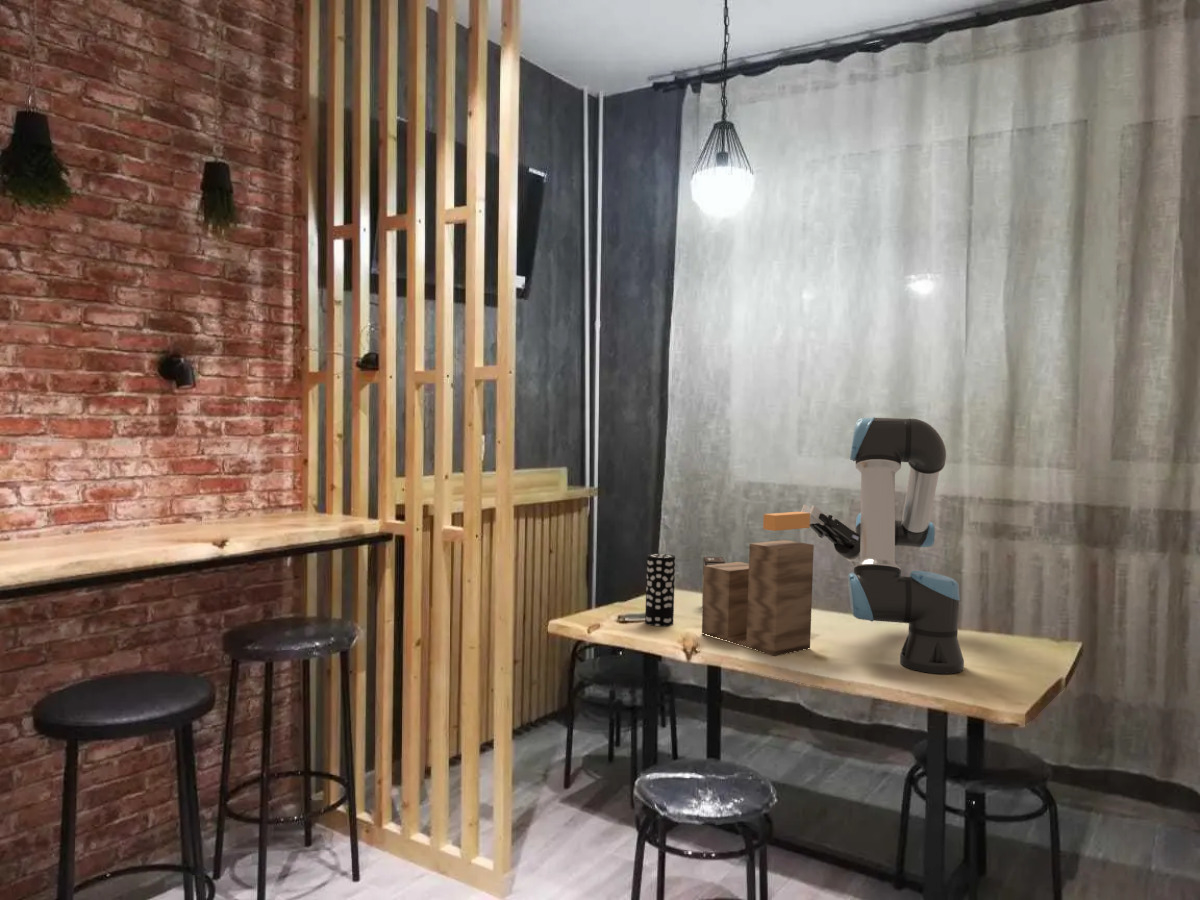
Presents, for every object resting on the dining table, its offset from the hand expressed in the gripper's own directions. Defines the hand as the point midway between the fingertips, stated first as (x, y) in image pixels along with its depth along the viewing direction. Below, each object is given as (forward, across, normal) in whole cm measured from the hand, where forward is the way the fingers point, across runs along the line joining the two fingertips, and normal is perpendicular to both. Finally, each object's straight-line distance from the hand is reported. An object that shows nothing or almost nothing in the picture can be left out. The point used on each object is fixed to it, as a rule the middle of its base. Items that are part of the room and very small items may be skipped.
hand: (807, 509), depth 250 cm
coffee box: (-27, +45, -27) cm, 59 cm away
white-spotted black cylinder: (-3, +39, -41) cm, 57 cm away
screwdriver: (0, 0, -6) cm, 6 cm away
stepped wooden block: (-10, +8, -37) cm, 39 cm away
